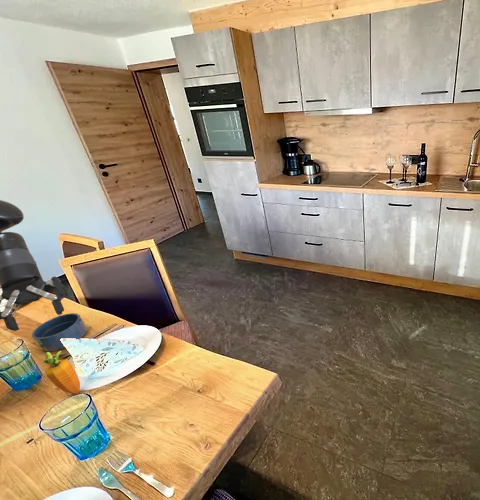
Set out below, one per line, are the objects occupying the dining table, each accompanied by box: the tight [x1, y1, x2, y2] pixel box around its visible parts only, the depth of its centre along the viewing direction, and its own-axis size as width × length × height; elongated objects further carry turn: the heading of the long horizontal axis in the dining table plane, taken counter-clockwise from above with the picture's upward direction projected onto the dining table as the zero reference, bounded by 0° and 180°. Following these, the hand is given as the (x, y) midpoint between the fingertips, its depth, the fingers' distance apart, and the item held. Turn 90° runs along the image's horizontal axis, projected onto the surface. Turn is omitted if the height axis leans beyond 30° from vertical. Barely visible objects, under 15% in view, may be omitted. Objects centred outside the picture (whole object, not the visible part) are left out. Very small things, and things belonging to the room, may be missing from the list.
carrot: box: [42, 350, 81, 395], centre depth 75 cm, size 5×5×15 cm
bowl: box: [31, 312, 88, 352], centre depth 97 cm, size 12×12×6 cm
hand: (38, 321), depth 76 cm, fingers open, 8 cm apart
